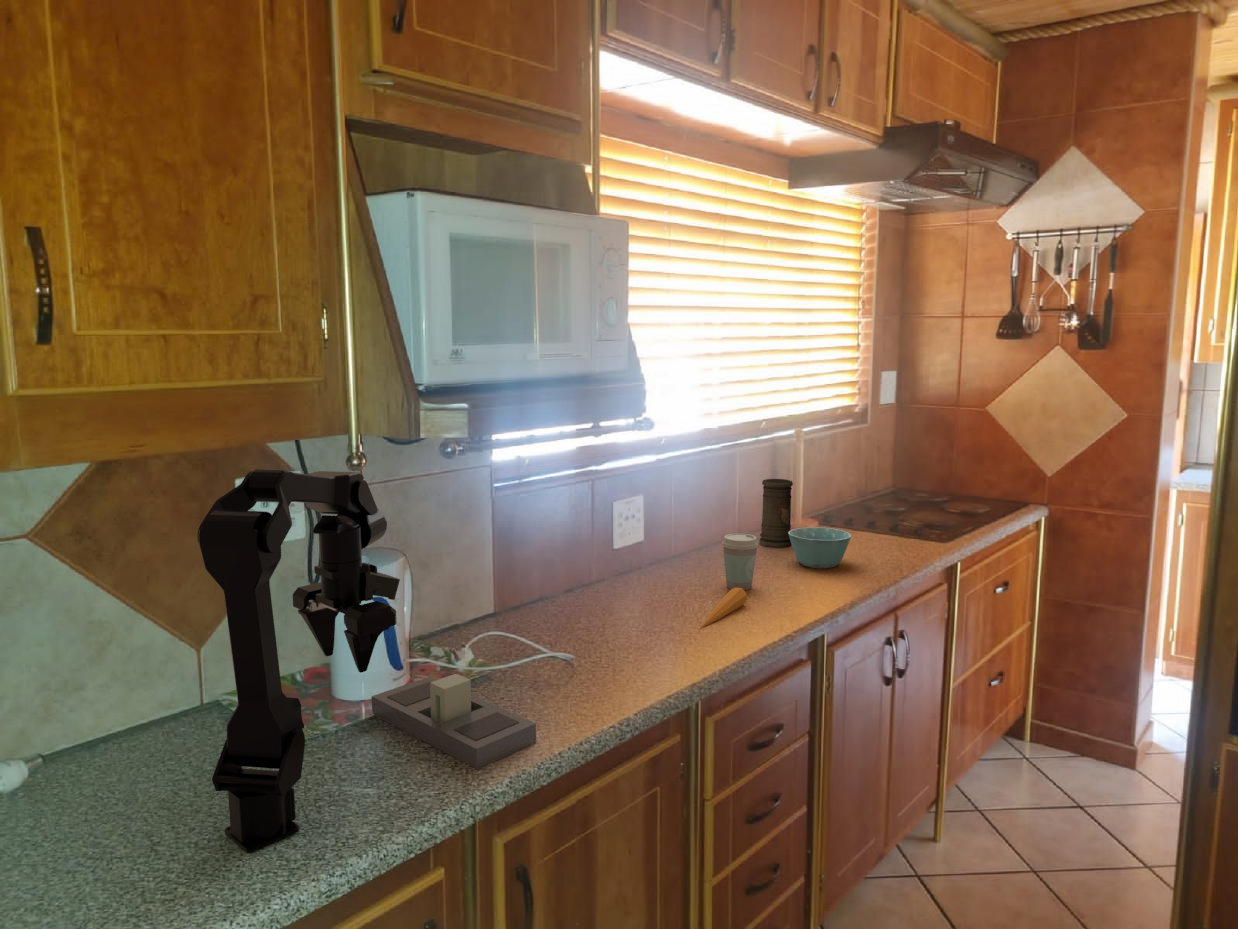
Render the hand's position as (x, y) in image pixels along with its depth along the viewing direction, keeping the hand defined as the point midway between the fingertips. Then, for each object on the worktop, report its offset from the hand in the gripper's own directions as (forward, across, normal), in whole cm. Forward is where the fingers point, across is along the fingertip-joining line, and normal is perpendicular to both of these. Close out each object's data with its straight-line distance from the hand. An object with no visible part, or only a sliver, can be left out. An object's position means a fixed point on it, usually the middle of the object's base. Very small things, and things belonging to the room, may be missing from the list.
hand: (345, 663), depth 131 cm
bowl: (+12, +1, -136) cm, 136 cm away
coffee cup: (+12, +4, -105) cm, 106 cm away
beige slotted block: (+12, -7, -13) cm, 19 cm away
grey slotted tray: (+12, -7, -13) cm, 19 cm away
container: (+12, +21, -147) cm, 149 cm away
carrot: (+12, -5, -85) cm, 86 cm away
